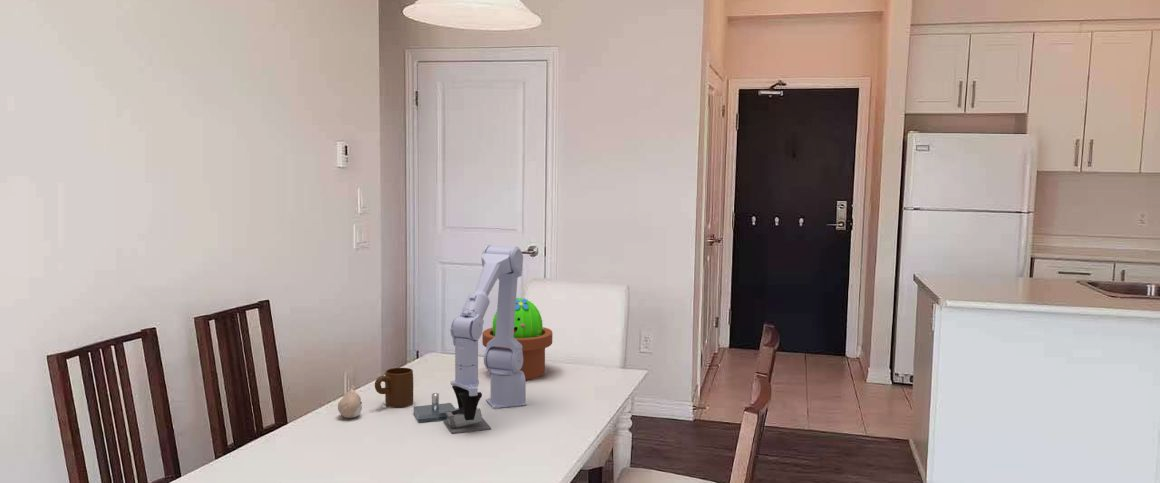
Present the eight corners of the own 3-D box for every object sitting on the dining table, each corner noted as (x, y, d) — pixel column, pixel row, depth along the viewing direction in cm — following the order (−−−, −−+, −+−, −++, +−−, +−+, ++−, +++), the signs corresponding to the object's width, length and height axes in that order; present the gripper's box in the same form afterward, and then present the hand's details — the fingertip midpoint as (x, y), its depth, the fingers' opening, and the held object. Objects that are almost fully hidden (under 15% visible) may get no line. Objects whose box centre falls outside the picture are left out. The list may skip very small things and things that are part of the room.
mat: (481, 417, 208) (481, 416, 208) (491, 429, 199) (491, 427, 198) (443, 421, 204) (443, 420, 204) (451, 433, 195) (451, 432, 195)
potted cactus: (492, 364, 264) (492, 289, 262) (557, 367, 261) (557, 292, 259) (474, 381, 243) (474, 300, 240) (545, 384, 240) (545, 303, 237)
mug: (385, 413, 210) (384, 379, 209) (366, 408, 215) (366, 374, 214) (419, 403, 220) (419, 370, 219) (400, 398, 224) (400, 365, 223)
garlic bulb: (368, 415, 208) (367, 386, 208) (350, 422, 203) (350, 392, 202) (349, 411, 211) (349, 382, 211) (331, 418, 206) (331, 388, 205)
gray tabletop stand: (477, 414, 205) (475, 403, 204) (482, 420, 200) (480, 409, 199) (447, 422, 202) (445, 411, 202) (451, 429, 197) (449, 417, 197)
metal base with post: (450, 410, 214) (450, 388, 213) (457, 418, 206) (457, 396, 206) (413, 413, 210) (413, 391, 210) (419, 423, 203) (418, 400, 202)
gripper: (444, 358, 205) (445, 409, 206) (457, 372, 192) (457, 426, 193) (471, 356, 208) (471, 406, 209) (485, 369, 194) (485, 423, 195)
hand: (466, 416), depth 201 cm, fingers closed on gray tabletop stand, 5 cm apart
